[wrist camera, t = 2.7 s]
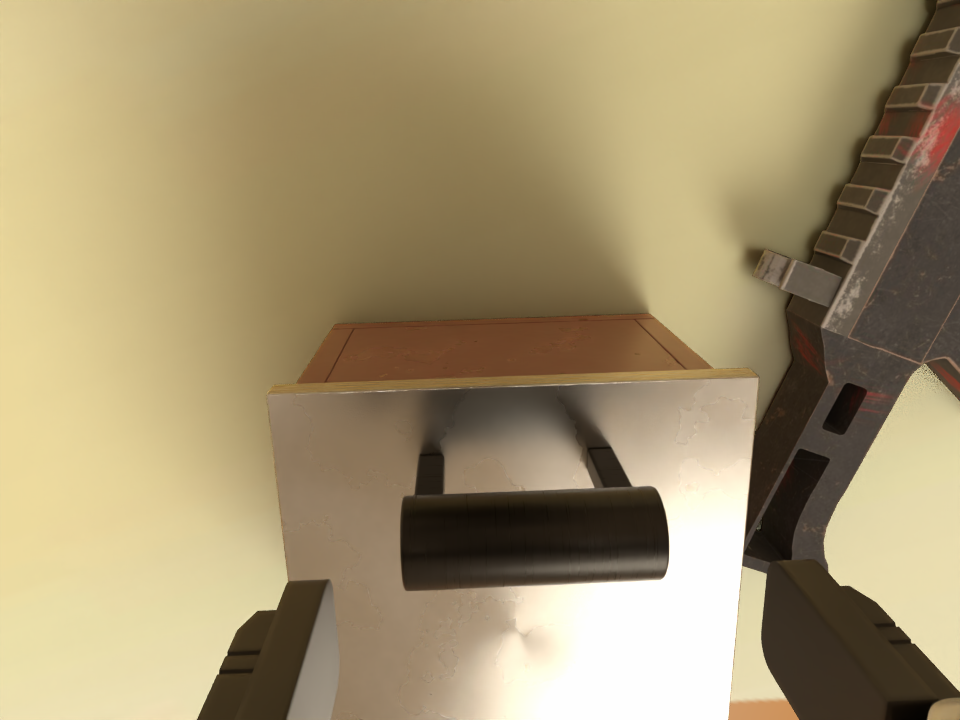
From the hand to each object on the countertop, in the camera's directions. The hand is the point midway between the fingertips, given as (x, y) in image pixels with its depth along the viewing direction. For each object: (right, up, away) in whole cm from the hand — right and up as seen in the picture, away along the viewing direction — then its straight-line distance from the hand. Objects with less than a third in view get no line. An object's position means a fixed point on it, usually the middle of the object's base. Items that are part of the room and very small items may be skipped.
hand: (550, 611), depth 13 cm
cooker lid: (0, -3, +8) cm, 9 cm away
